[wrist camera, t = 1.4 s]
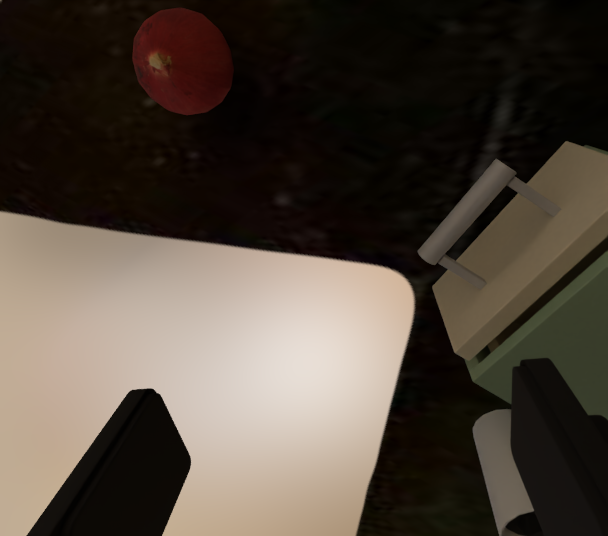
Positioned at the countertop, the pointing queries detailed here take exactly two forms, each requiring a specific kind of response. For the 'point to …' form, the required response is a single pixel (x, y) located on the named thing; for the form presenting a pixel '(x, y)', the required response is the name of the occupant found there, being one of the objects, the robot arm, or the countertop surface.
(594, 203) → the drawer
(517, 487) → the grey cup
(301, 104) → the countertop surface
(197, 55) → the onion
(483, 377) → the cabinet
